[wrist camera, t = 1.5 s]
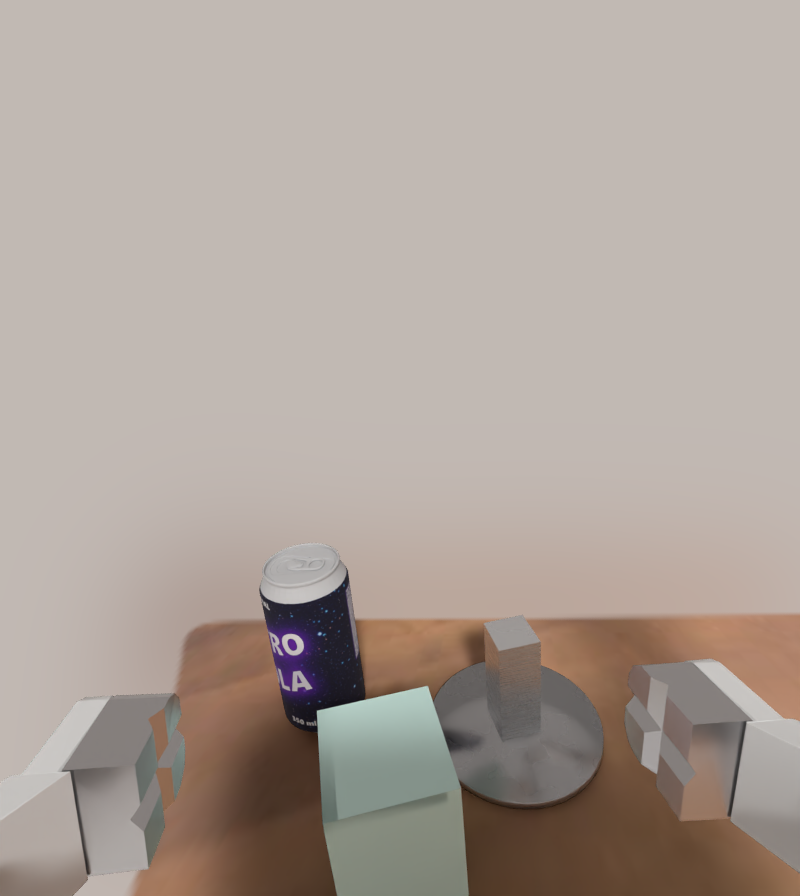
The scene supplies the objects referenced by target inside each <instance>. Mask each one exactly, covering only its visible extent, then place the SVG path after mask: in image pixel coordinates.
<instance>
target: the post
mask: <svg viewBox="0 0 800 896" xmlns="http://www.w3.org/2000/svg"><path fill="white" fill-rule="evenodd" d="M484 643H485V662H482V663H478V664H475V665H472V666H470V667H467V668H465V669H463V670H462V671H460V672H458V673H457V674H455V675H454V676H452V677H451V678H450V679H449V680H448V681H447V682H446V683H445V684H444V685H443V686H442V688H441V689H440V690H439V692H438V694H437V695H436V697H435V699H434V702H433V704H434V707H435V710H436V713H437V716H438V719H439V722H440V725H441V728H442V731H443V734H444V737H445V741H446V744H447V747H448V750H449V753H450V756H451V759H452V762H453V765H454V768H455V771H456V774H457V777H458V780H459V783H460V785H461V786H462V787H463V788H465V789H466V790H467V791H469V792H471V793H472V794H474V795H476V796H477V797H480V798H482V799H484V800H486V801H488V802H491V803H494V804H498V805H501V806H506V807H511V808H520V809H536V808H544V807H549V806H553V805H556V804H559V803H562V802H565V801H566V800H568V799H570V798H572V797H574V796H575V795H577V794H578V793H579V792H581V791H582V790H583V789H584V788H585V787H586V786H587V785H588V784H589V783H590V782H591V781H592V779H593V778H594V776H595V775H596V773H597V771H598V768H599V766H600V764H601V759H602V755H603V739H604V737H603V729H602V725H601V721H600V718H599V716H598V714H597V711H596V709H595V708H594V706H593V704H592V703H591V701H590V700H589V699H588V697H587V696H586V695H585V694H584V693H583V692H582V691H581V690H580V689H579V688H578V687H577V686H576V685H575V684H574V683H572V682H571V681H570V680H569V679H567V678H566V677H564V676H562V675H561V674H559V673H557V672H555V671H553V670H551V669H549V668H546V667H544V666H541V642H540V640H539V639H538V637H537V636H536V634H535V633H534V631H533V630H532V628H531V627H530V625H529V624H528V622H527V621H526V620H525V618H524V617H523V615H520V616H515V617H511V618H506V619H501V620H496V621H491V622H487V623H484Z"/></svg>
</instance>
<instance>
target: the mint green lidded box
mask: <svg viewBox="0 0 800 896" xmlns="http://www.w3.org/2000/svg"><path fill="white" fill-rule="evenodd" d="M317 724H318V743H319V763H320V782H321V801H322V821H323V828H324V833H325V838H326V843H327V848H328V853H329V858H330V863H331V868H332V873H333V878H334V883H335V888H336V893H337V896H469V891H468V877H467V863H466V850H465V836H464V822H463V808H462V794H461V786H460V783H459V780H458V777H457V774H456V771H455V768H454V765H453V762H452V759H451V756H450V753H449V750H448V747H447V744H446V741H445V737H444V734H443V731H442V728H441V725H440V722H439V719H438V716H437V713H436V710H435V707H434V704H433V701H432V698H431V695H430V692H429V689H428V686H425V687H420V688H416V689H411V690H407V691H403V692H398V693H394V694H389V695H385V696H380V697H376V698H372V699H367V700H363V701H358V702H354V703H349V704H345V705H341V706H336V707H332V708H327V709H323V710H318V711H317Z"/></svg>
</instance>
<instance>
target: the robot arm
mask: <svg viewBox="0 0 800 896" xmlns="http://www.w3.org/2000/svg"><path fill="white" fill-rule="evenodd" d="M628 687H629V688H630V689H631V691H632V692H633V694H634V695H635V696H634V697H633V698H632V699H631V700H630V702H629V703H628V704H627V705H626V707H625V728H626V733H627V738H628V741H629V743H630V746H631V748H632V750H633V752H634V754H635V756H636V757H637V759H638V760H639V762H640V763H641V764H642V765H643V766H645V767H646V768H648V769H649V770H651V771H653V772H654V773H656V774H657V779H656V787H657V788H658V790H659V791H660V793H661V794H662V796H663V797H664V799H665V800H666V802H667V803H668V805H669V806H670V808H671V809H672V810H673V812H674V813H675V815H676V816H677V818H678V819H679V821H694V820H712V819H730V818H731V820H730V821H731V822H732V823H733V824H735V825H736V826H737V827H739V828H740V829H741V830H743V831H744V832H745V833H747V834H748V835H749V836H751V837H752V838H753V839H755V840H756V841H757V842H759V843H760V844H761V845H763V846H764V847H765V848H767V849H768V850H769V851H771V852H772V853H773V854H775V855H776V856H777V857H779V858H780V859H781V860H782V861H784V862H785V863H786V864H788V865H789V866H790V867H792V868H793V869H794V870H796V871H797V872H798V873H800V722H799V721H797V720H795V719H784V718H782V717H781V716H780V715H779V714H778V713H777V712H776V711H775V710H773V709H772V708H771V707H770V706H769V705H768V704H767V703H765V702H764V701H763V700H762V699H761V698H760V697H759V696H757V695H756V694H755V693H754V692H753V691H752V690H751V689H750V688H748V687H747V686H746V685H745V684H744V683H743V682H742V681H740V680H739V679H738V678H737V677H736V676H735V675H734V674H732V673H731V672H730V671H729V670H728V669H727V668H726V667H724V666H723V665H722V664H721V663H720V662H718V661H715V660H713V659H702V660H692V661H685V662H679V663H664V664H650V665H635V666H633V667H632V669H631V671H630V673H629V679H628ZM180 716H181V708H180V701H179V697H178V696H177V695H176V694H175V693H168V694H145V695H144V694H142V695H116V696H100V697H85V698H83V699H81V700H79V701H77V703H76V704H75V705H74V706H73V708H72V709H71V710H70V712H69V713H68V714H67V715H66V717H65V718H64V719H63V721H62V722H61V723H60V725H59V726H58V727H57V729H56V730H55V731H54V733H53V734H52V735H51V737H50V738H49V739H48V740H47V742H46V743H45V744H44V746H43V747H42V748H41V750H40V751H39V752H38V754H37V755H36V756H35V757H34V759H33V760H32V761H31V763H30V764H29V766H28V767H27V768H26V769H25V771H24V772H23V773H22V774H21V775H13V776H9V777H8V778H6V779H5V780H3V781H2V782H0V896H73V895H74V894H75V893H76V892H77V891H78V890H79V889H80V888H81V887H82V886H83V885H84V883H86V881H87V880H88V877H87V876H94V875H103V874H111V873H119V872H128V871H136V870H144V869H149V867H150V864H151V861H152V859H153V856H154V854H155V851H156V849H157V846H158V843H159V841H160V838H161V836H162V833H163V831H164V828H165V823H164V814H163V811H164V810H165V809H167V808H168V807H169V806H170V805H171V804H172V803H173V802H174V801H175V799H176V796H177V794H178V791H179V788H180V785H181V781H182V776H183V770H184V765H185V744H184V737H183V736H182V735H181V734H180V733H179V732H178V731H177V730H176V725H177V723H178V721H179V719H180Z"/></svg>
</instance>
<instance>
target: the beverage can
mask: <svg viewBox="0 0 800 896" xmlns="http://www.w3.org/2000/svg"><path fill="white" fill-rule="evenodd" d="M262 573H263V578H262V581H261V585H260V596H261V600H262V605H263V610H264V614H265V620H266V624H267V629H268V634H269V638H270V643H271V648H272V652H273V657H274V662H275V666H276V671H277V676H278V680H279V685H280V690H281V695H282V699H283V704H284V709H285V713H286V716H287V718H288V720H289V721H290V722H291V723H292V724H293V725H294V726H295V727H297V728H299V729H301V730H304V731H309V732H316V733H318V724H317V711H318V710H323V709H327V708H332V707H336V706H341V705H345V704H349V703H354V702H358V701H363V700H364V699H365V687H364V680H363V673H362V666H361V659H360V652H359V645H358V638H357V631H356V624H355V617H354V611H353V604H352V597H351V590H350V583H349V576H348V570H347V568H346V566H345V565H344V564H343V563H342V562H341V560H340V556H339V554H338V552H337V551H336V550H335V549H334V548H332V547H331V546H328V545H325V544H320V543H306V544H299V545H295V546H291V547H288V548H286V549H283V550H281V551H279V552H277V553H276V554H274V555H273V556H271V557H270V558H269V559H268V560H267V561H266V563H265V564H264V566H263V569H262Z"/></svg>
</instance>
